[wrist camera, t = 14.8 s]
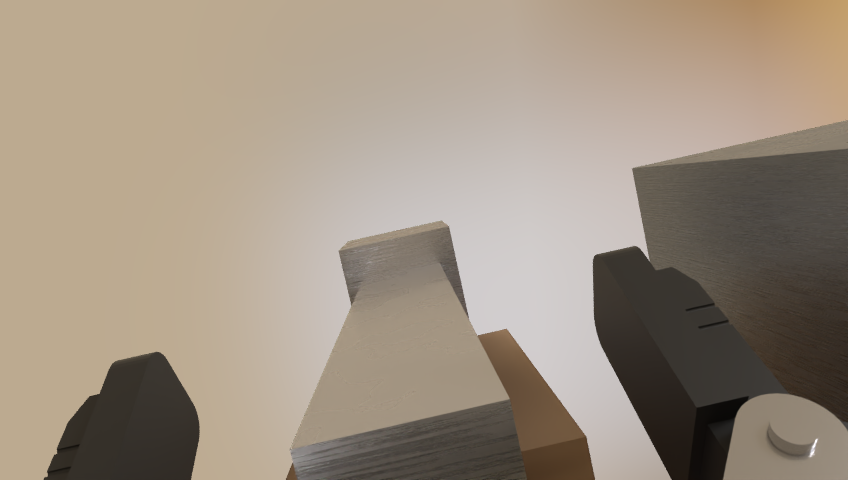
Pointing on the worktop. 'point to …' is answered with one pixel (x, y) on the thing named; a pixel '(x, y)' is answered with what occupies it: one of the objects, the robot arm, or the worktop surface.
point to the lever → (407, 375)
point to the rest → (535, 416)
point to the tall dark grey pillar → (765, 248)
